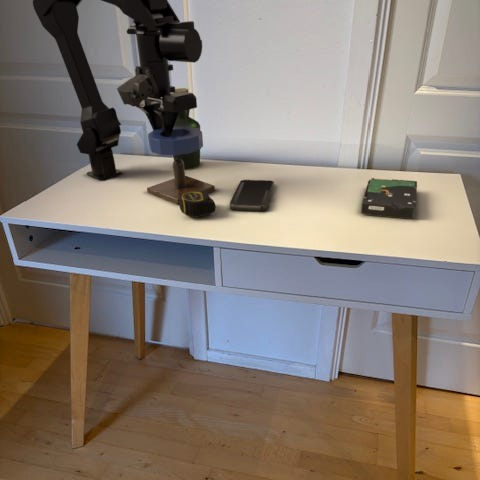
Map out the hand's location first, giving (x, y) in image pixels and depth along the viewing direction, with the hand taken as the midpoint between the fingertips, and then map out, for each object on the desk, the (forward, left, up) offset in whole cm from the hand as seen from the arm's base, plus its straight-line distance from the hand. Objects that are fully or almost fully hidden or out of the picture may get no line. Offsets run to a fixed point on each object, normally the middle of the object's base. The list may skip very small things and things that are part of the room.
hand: (163, 139), depth 108 cm
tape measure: (+17, -5, -11) cm, 20 cm away
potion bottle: (-8, +13, -11) cm, 19 cm away
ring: (+4, 0, -1) cm, 5 cm away
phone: (+20, +8, -11) cm, 24 cm away
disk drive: (+44, +24, -11) cm, 51 cm away
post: (+5, 0, -11) cm, 12 cm away
